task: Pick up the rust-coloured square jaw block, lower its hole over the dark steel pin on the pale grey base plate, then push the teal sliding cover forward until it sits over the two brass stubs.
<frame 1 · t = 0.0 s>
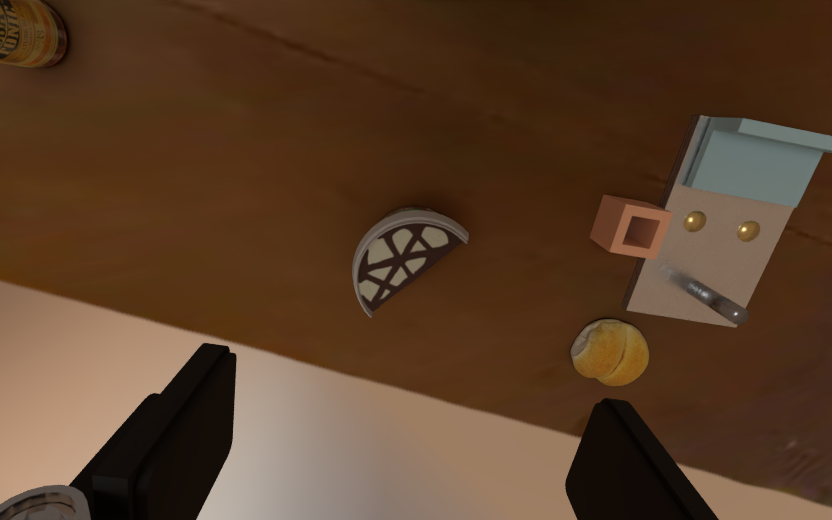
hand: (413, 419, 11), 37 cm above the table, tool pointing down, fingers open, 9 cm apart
cover: (767, 165, 42), point 4 cm above the table, slide at 0.0 cm
food container: (397, 226, 47), on the table
bread roll: (603, 346, 54), on the table
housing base: (712, 227, 48), on the table
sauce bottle: (39, 30, 40), on the table
jaw block: (617, 220, 48), on the table
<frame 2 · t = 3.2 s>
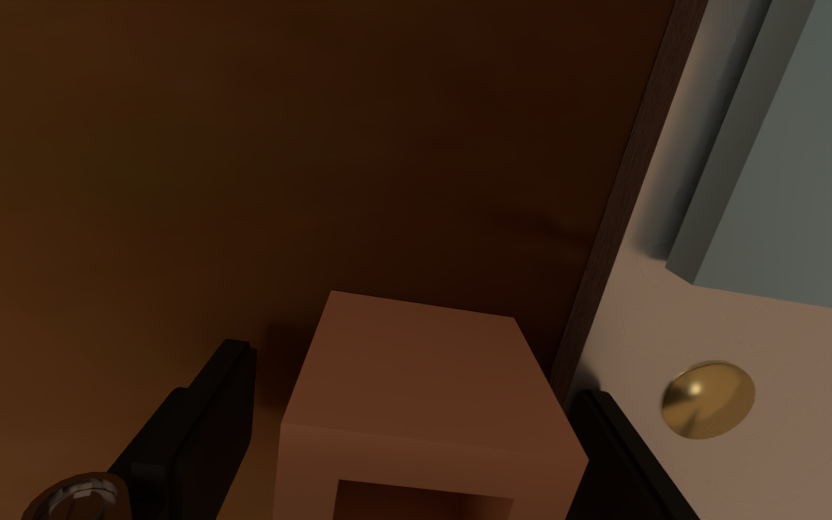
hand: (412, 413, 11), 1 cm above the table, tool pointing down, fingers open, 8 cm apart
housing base: (771, 402, 13), on the table
jaw block: (408, 381, 12), on the table
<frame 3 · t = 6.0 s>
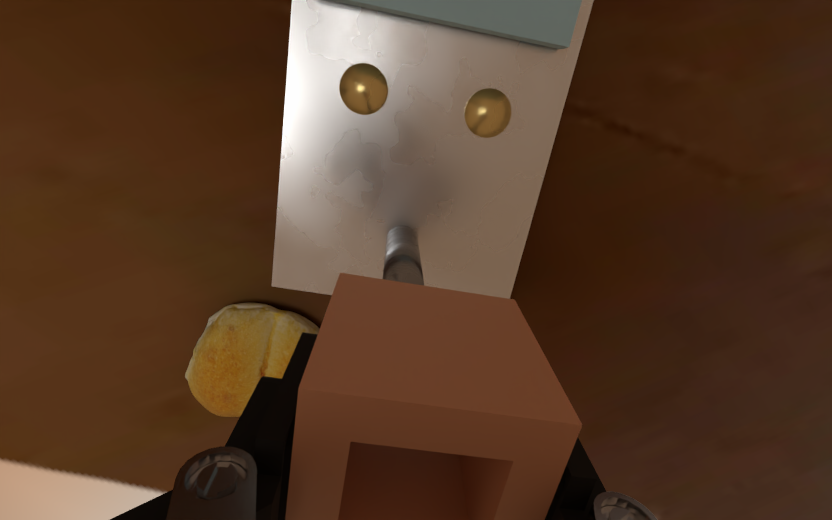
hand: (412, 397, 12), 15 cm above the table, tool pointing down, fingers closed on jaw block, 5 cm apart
bread roll: (269, 355, 28), on the table
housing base: (423, 111, 23), on the table
jaw block: (413, 360, 13), point 13 cm above the table, touching gripper
when the fingers open (3 cm above the table, at t = 8.4 s): jaw block stays where it is, resting on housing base.
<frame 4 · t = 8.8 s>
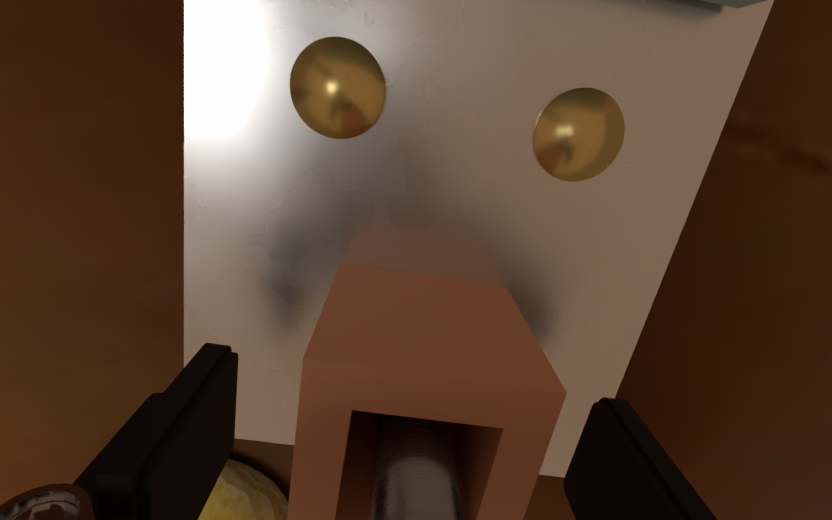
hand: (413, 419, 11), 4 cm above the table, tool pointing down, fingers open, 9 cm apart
bread roll: (195, 514, 18), on the table
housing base: (452, 130, 12), on the table
jaw block: (410, 348, 13), point 1 cm above the table, touching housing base
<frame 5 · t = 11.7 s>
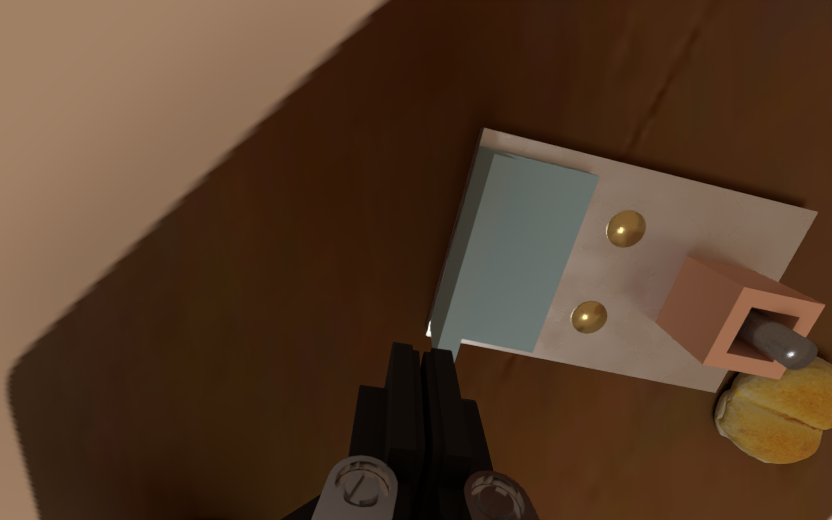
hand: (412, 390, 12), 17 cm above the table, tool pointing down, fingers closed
cover: (514, 265, 25), point 4 cm above the table, slide at 0.0 cm
bread roll: (764, 396, 34), on the table
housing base: (605, 269, 29), on the table
jaw block: (704, 297, 29), point 1 cm above the table, touching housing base
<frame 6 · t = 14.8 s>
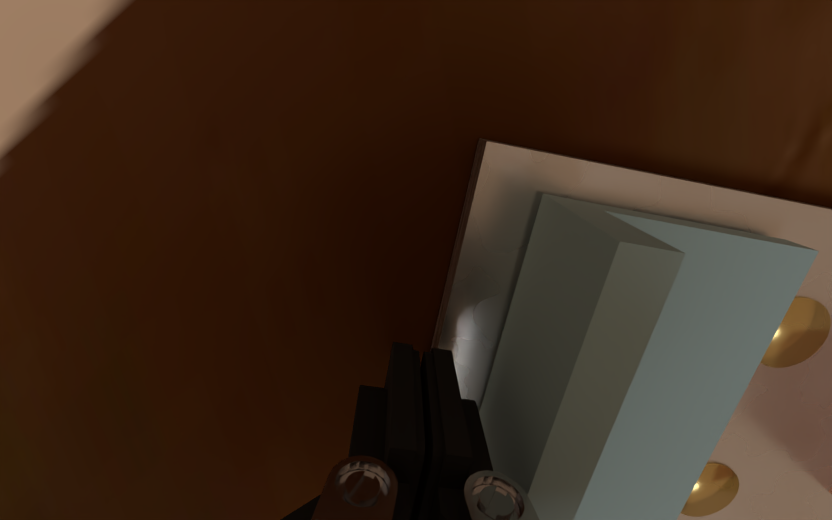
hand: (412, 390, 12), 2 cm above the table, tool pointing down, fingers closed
cover: (628, 451, 11), point 4 cm above the table, slide at 1.7 cm, touching gripper
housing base: (730, 395, 15), on the table
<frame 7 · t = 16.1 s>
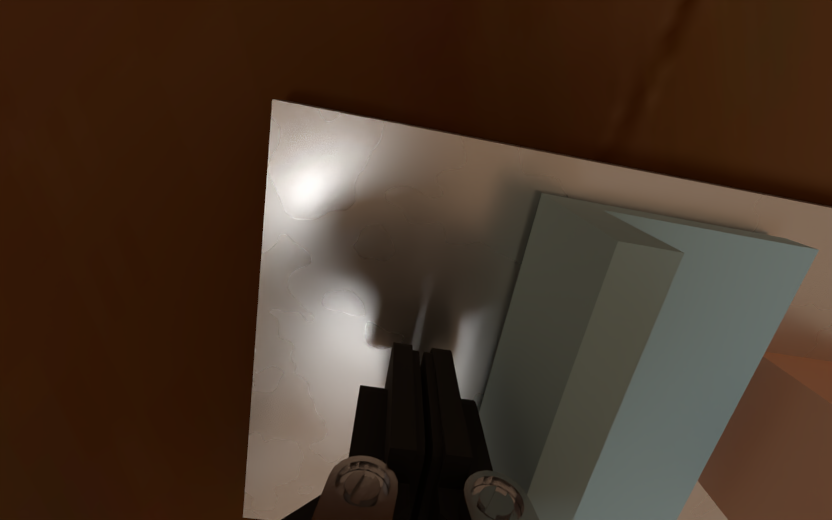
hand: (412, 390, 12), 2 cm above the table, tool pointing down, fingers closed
cover: (628, 451, 11), point 4 cm above the table, slide at 7.1 cm, touching gripper
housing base: (588, 373, 15), on the table
jaw block: (789, 424, 14), point 1 cm above the table, touching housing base
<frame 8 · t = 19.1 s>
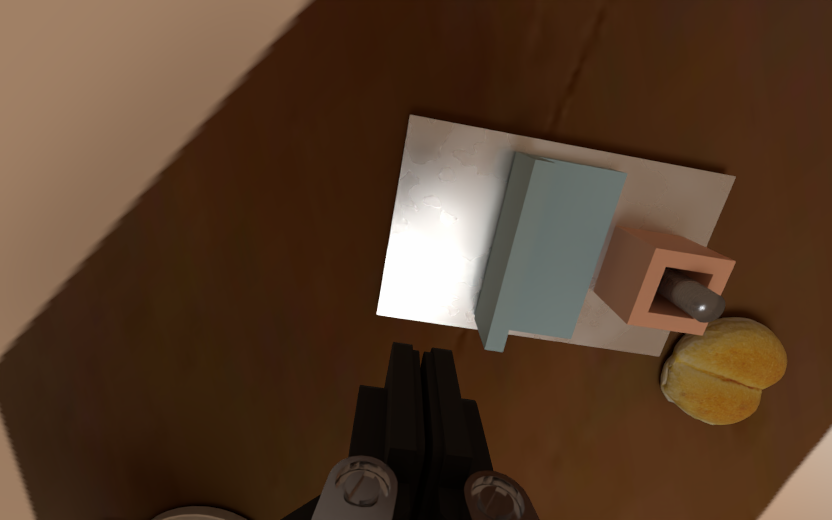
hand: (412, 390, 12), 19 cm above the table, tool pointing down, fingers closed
cover: (553, 259, 28), point 4 cm above the table, slide at 7.0 cm
bread roll: (708, 361, 35), on the table
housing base: (542, 243, 31), on the table
jaw block: (637, 264, 30), point 1 cm above the table, touching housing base
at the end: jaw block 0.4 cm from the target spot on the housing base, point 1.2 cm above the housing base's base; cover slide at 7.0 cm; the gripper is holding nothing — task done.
